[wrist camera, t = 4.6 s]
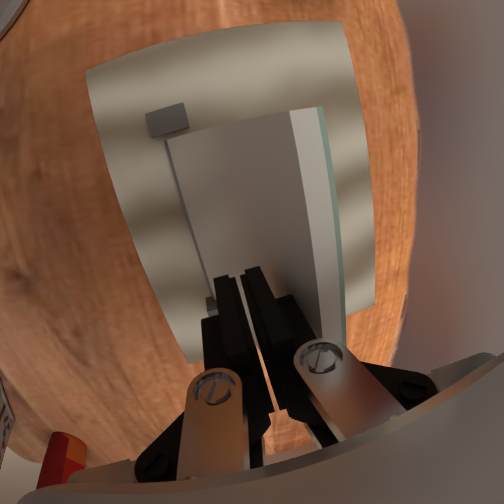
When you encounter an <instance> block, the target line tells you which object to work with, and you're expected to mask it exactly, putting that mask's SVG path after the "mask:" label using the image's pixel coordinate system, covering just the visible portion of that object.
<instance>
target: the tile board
mask: <svg viewBox="0 0 504 504" xmlns="http://www.w3.org/2000/svg"><path fill="white" fill-rule="evenodd" d="M84 72H85V77H86V82H87V87H88V92H89V97H90V102H91V106H92V110H93V115H94V119H95V123H96V127H97V131H98V135H99V138H100V142H101V146H102V149H103V153H104V156H105V160H106V163H107V167H108V170H109V173H110V177H111V180H112V183H113V186H114V189H115V192H116V195H117V198H118V201H119V204H120V207H121V210H122V213H123V216H124V219H125V221H126V224H127V227H128V230H129V232H130V235H131V238H132V240H133V243H134V245H135V248H136V251H137V253H138V256H139V258H140V261H141V263H142V266H143V268H144V270H145V273H146V275H147V278H148V280H149V282H150V285H151V287H152V289H153V291H154V294H155V296H156V298H157V300H158V303H159V305H160V307H161V309H162V311H163V314H164V316H165V318H166V320H167V322H168V324H169V326H170V328H171V330H172V332H173V334H174V336H175V338H176V340H177V342H178V344H179V346H180V348H181V350H182V352H183V354H184V356H185V358H186V360H187V362H188V364H189V363H193V362H198V361H202V360H204V356H203V345H202V332H201V319H203V318H207V317H211V316H215V315H218V308H217V301H216V299H213V298H212V296H211V293H210V290H209V287H208V284H207V281H206V278H205V275H204V272H203V269H202V266H201V263H200V260H199V257H198V254H197V251H196V248H195V245H194V242H193V238H192V235H191V232H190V229H189V226H188V222H187V219H186V216H185V213H184V209H183V206H182V203H181V199H180V196H179V193H178V189H177V186H176V182H175V179H174V175H173V172H172V168H171V165H170V161H169V157H168V154H167V150H166V146H165V143H164V141H165V140H168V139H171V138H174V137H178V136H181V135H185V134H188V133H192V132H195V131H199V130H203V129H206V128H210V127H214V126H218V125H222V124H226V123H231V122H235V121H240V120H244V119H249V118H254V117H258V116H264V115H269V114H274V113H280V112H286V111H292V110H298V109H305V108H312V107H320V106H322V107H323V112H324V117H325V123H326V128H327V134H328V140H329V146H330V152H331V158H332V165H333V172H334V179H335V187H336V195H337V203H338V212H339V221H340V231H341V242H342V255H343V269H344V285H345V308H346V316H348V315H350V314H353V313H356V312H358V311H361V310H363V309H366V308H368V307H371V306H373V305H375V235H374V214H373V199H372V186H371V175H370V166H369V157H368V149H367V141H366V134H365V127H364V121H363V115H362V109H361V103H360V98H359V93H358V88H357V83H356V78H355V73H354V69H353V64H352V60H351V56H350V52H349V48H348V44H347V40H346V36H345V33H344V29H343V26H342V22H341V21H293V22H276V23H264V24H255V25H246V26H239V27H232V28H226V29H220V30H214V31H209V32H204V33H199V34H195V35H190V36H186V37H182V38H178V39H174V40H170V41H167V42H163V43H160V44H156V45H153V46H150V47H146V48H143V49H140V50H137V51H134V52H131V53H128V54H126V55H123V56H120V57H117V58H115V59H112V60H110V61H107V62H105V63H102V64H100V65H97V66H95V67H93V68H91V69H88V70H86V71H84ZM255 346H256V345H255Z"/></svg>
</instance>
